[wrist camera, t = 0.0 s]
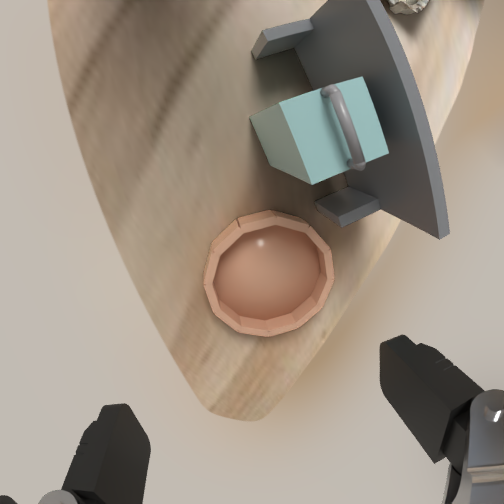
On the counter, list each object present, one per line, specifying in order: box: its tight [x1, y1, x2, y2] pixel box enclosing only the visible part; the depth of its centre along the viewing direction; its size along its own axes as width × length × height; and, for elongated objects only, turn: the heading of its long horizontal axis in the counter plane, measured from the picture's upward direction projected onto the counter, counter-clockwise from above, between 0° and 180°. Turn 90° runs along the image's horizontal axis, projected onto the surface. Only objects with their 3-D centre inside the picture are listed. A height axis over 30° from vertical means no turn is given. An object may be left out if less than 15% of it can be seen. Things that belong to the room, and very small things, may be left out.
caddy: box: [249, 76, 389, 185], centre depth 21 cm, size 6×5×14 cm
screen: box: [251, 0, 450, 240], centre depth 20 cm, size 5×17×14 cm, turn 23°
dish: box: [204, 210, 335, 337], centre depth 31 cm, size 13×13×2 cm
